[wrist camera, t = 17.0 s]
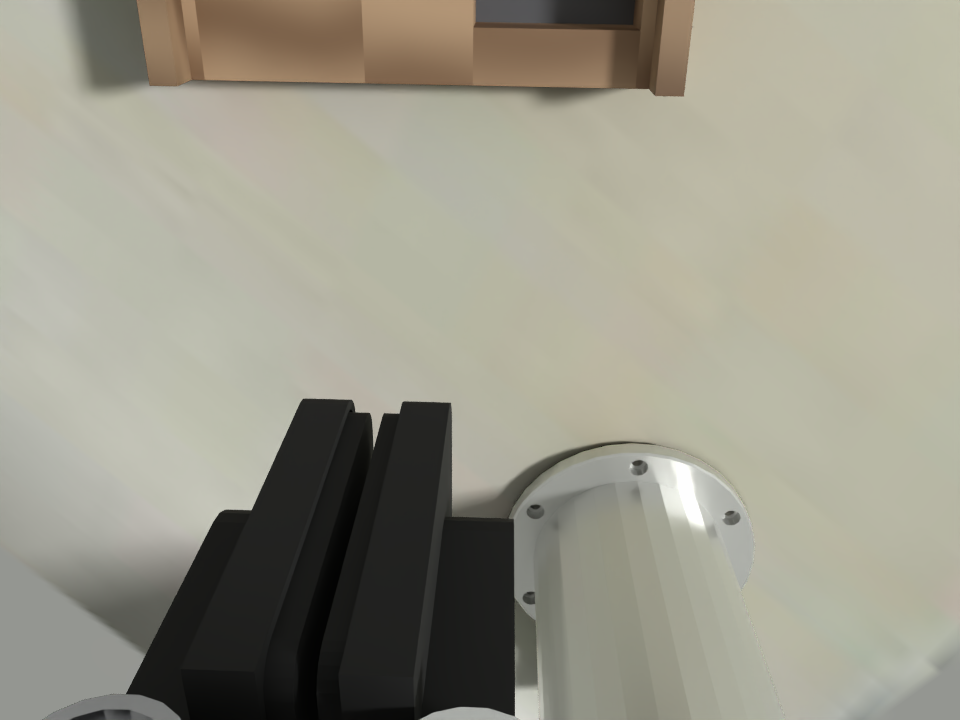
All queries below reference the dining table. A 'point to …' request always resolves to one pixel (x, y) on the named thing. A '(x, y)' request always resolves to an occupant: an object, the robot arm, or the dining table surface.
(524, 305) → the dining table surface
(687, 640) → the robot arm
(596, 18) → the tray
